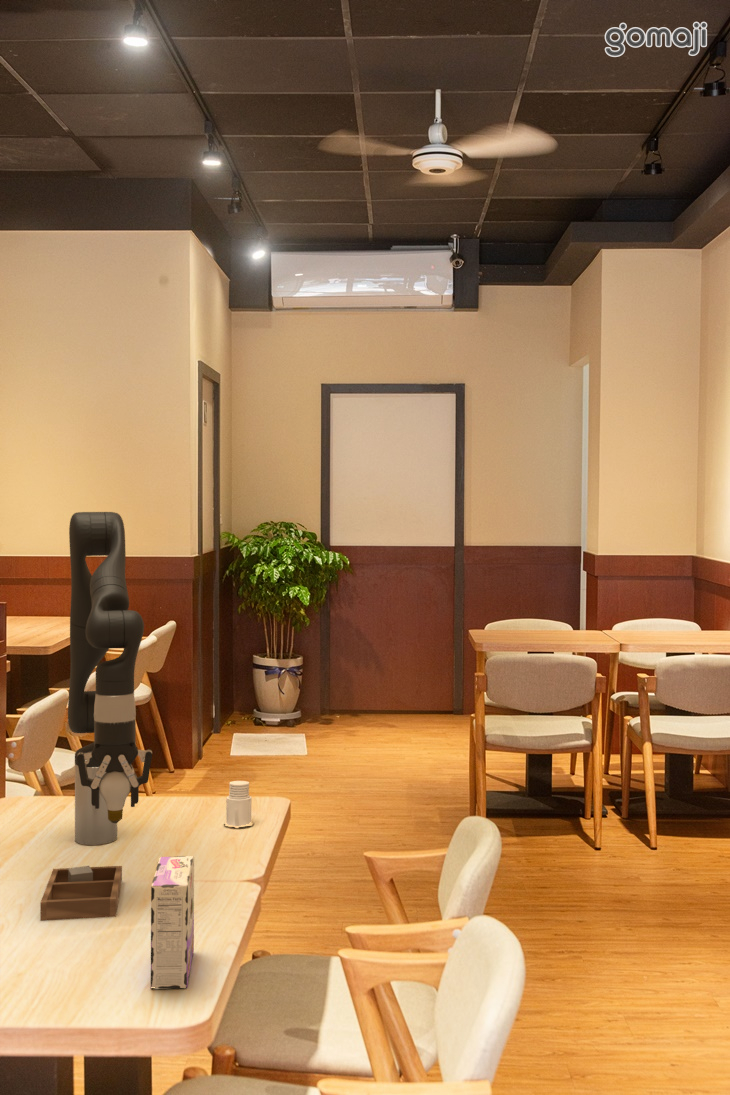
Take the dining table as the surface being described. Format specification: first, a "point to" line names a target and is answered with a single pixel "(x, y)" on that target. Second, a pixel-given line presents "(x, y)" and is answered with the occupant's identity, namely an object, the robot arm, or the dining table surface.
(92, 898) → the box
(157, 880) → the candy box
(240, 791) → the downlight
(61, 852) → the dining table surface
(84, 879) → the grey cube
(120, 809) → the light bulb
